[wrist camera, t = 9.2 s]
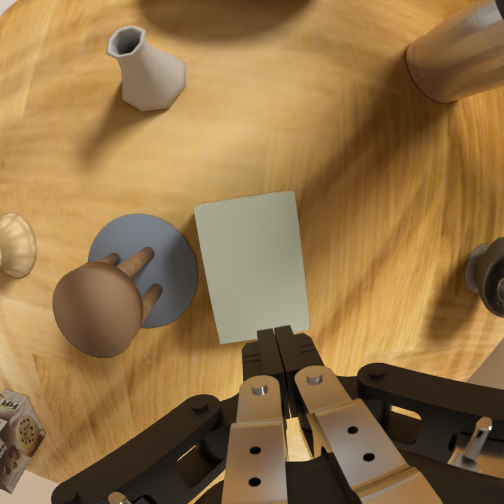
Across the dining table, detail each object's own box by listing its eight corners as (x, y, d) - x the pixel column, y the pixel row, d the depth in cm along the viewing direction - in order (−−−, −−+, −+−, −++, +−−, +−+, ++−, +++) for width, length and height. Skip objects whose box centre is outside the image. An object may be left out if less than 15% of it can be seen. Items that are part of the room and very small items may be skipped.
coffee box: (3, 388, 33) (-45, 441, 17) (28, 395, 33) (-20, 457, 17) (22, 426, 34) (-15, 481, 19) (47, 435, 35) (11, 496, 19)
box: (281, 191, 30) (294, 191, 23) (295, 303, 32) (309, 329, 26) (201, 203, 29) (193, 206, 23) (222, 315, 32) (220, 344, 26)
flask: (175, 118, 28) (150, 86, 18) (113, 107, 27) (70, 78, 17) (197, 58, 26) (184, 9, 17) (136, 50, 25) (105, 6, 16)
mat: (185, 203, 29) (185, 203, 29) (208, 320, 32) (207, 320, 32) (78, 226, 29) (77, 226, 29) (105, 331, 31) (105, 332, 31)
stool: (205, 235, 25) (59, 282, 15) (219, 312, 26) (95, 382, 16) (132, 239, 32) (28, 270, 22) (145, 297, 33) (50, 338, 24)
